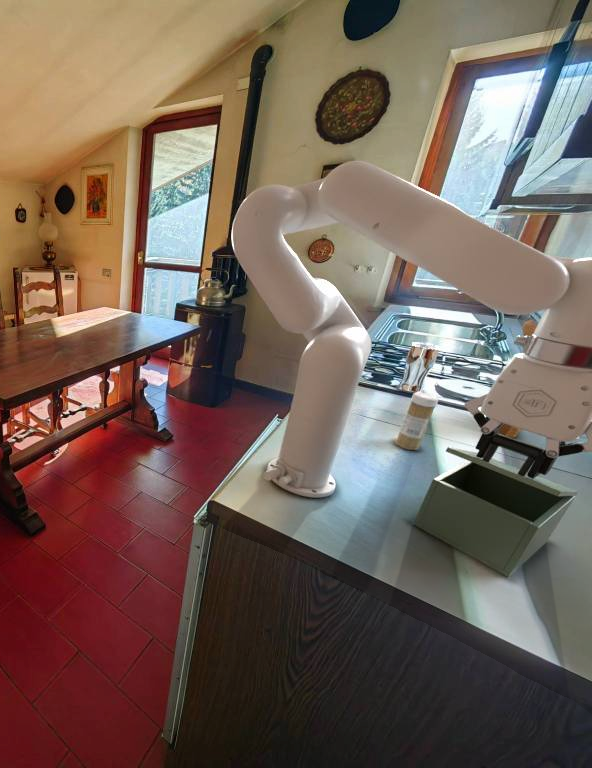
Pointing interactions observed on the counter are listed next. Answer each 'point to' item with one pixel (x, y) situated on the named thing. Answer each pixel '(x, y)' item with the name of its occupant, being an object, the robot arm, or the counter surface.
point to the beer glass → (418, 366)
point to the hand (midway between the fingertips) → (507, 464)
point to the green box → (490, 515)
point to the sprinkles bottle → (416, 420)
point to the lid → (510, 470)
